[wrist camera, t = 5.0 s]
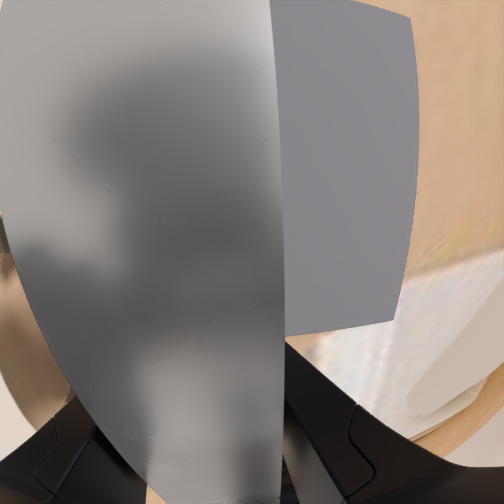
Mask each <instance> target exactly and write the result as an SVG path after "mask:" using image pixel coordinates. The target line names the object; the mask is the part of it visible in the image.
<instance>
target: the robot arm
mask: <svg viewBox="0 0 504 504" xmlns="http://www.w3.org/2000/svg"><path fill="white" fill-rule="evenodd" d="M356 404H357V403H356V402H355V401H354V400H353V399H352V398H351V397H349V396H348V395H347V394H346V393H345V392H343V391H342V390H341V389H340V388H339V387H337V386H336V385H335V384H334V383H333V382H332V381H330V380H329V379H328V378H327V377H326V376H325V375H323V374H322V373H321V372H320V371H319V370H318V369H316V368H315V367H314V366H313V365H312V364H311V363H310V362H308V361H307V360H306V359H305V358H304V357H303V356H302V355H300V354H299V353H298V352H297V351H296V350H295V349H294V348H292V347H291V346H290V345H289V344H288V343H287V342H286V341H285V370H284V418H283V448H282V471H281V490H280V504H504V466H503V467H467V466H462V465H458V464H454V463H452V462H449V461H447V460H445V459H443V458H441V457H439V456H437V455H435V454H433V453H432V452H430V451H428V450H426V449H424V448H423V447H421V446H419V445H417V444H416V443H414V442H412V441H410V440H409V439H407V438H405V437H403V436H402V435H400V434H399V433H397V432H396V431H394V430H392V429H391V428H389V427H388V426H386V425H385V424H383V423H382V422H381V421H379V420H378V419H377V418H375V417H374V416H373V415H371V414H370V413H369V412H368V411H366V410H365V409H364V408H363V407H362V406H360V405H359V404H358V405H356ZM146 490H147V483H146V482H145V481H144V480H143V479H142V478H141V477H140V476H139V475H138V474H137V473H136V472H135V471H134V469H133V468H132V467H131V466H130V465H129V464H128V463H127V462H126V461H125V459H124V458H123V457H122V456H121V455H120V453H119V452H118V451H117V450H116V449H115V447H114V446H113V445H112V444H111V443H110V441H109V440H108V439H107V437H106V436H105V435H104V434H103V432H102V431H101V430H100V428H99V427H98V426H97V424H96V423H95V421H94V420H93V419H92V417H91V416H90V414H89V413H88V411H87V410H86V409H85V407H84V406H83V404H82V403H81V401H80V400H79V398H78V396H77V395H76V396H74V397H73V398H72V399H71V400H70V401H69V402H68V403H67V404H66V405H65V406H64V407H63V408H62V409H61V410H60V411H59V412H57V413H56V414H55V415H54V418H51V419H50V420H49V421H48V422H47V423H46V424H45V425H44V426H43V427H42V428H40V429H39V430H38V431H37V432H36V433H35V434H34V435H33V436H32V437H30V438H29V439H28V440H27V441H26V442H24V443H23V444H22V445H21V446H19V447H18V448H17V449H16V450H14V451H13V452H12V453H10V454H9V455H8V456H7V457H5V458H4V459H3V460H1V461H0V504H145V503H146Z"/></svg>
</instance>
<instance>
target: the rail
mask: <svg viewBox="0 0 504 504" xmlns="http://www.w3.org/2000/svg"><path fill="white" fill-rule="evenodd" d="M0 210H1V215H2V219H3V224H4V228H5V232H6V236H7V239H8V243H9V247H10V250H11V253H12V257H13V260H14V263H15V266H16V269H17V272H18V275H19V278H20V281H21V284H22V286H23V289H24V292H25V294H26V297H27V299H28V302H29V304H30V307H31V309H32V311H33V314H34V316H35V318H36V321H37V323H38V325H39V327H40V329H41V332H42V334H43V336H44V338H45V340H46V342H47V344H48V346H49V348H50V350H51V352H52V354H53V356H54V357H55V359H56V361H57V363H58V365H59V367H60V368H61V370H62V372H63V374H64V375H65V377H66V379H67V380H68V382H69V384H70V385H71V387H72V389H73V390H74V392H75V393H76V395H77V396H78V398H79V400H80V401H81V403H82V404H83V406H84V407H85V409H86V410H87V411H88V413H89V414H90V416H91V417H92V419H93V420H94V421H95V423H96V424H97V426H98V427H99V428H100V430H101V431H102V432H103V434H104V435H105V436H106V437H107V439H108V440H109V441H110V443H111V444H112V445H113V446H114V447H115V449H116V450H117V451H118V452H119V453H120V455H121V456H122V457H123V458H124V459H125V461H126V462H127V463H128V464H129V465H130V466H131V467H132V468H133V469H134V471H135V472H136V473H137V474H138V475H139V476H140V477H141V478H142V479H143V480H144V481H145V482H146V483H147V484H148V485H149V486H150V487H151V488H152V489H153V490H154V491H155V492H156V493H157V494H158V495H159V496H160V497H161V498H162V499H163V500H164V501H165V502H166V503H167V504H280V490H281V471H282V448H283V418H284V370H285V282H284V231H283V199H282V174H281V152H280V133H279V115H278V100H277V85H276V71H275V58H274V46H273V35H272V24H271V14H270V4H269V0H3V3H2V7H1V12H0Z"/></svg>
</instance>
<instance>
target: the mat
mask: <svg viewBox="0 0 504 504" xmlns="http://www.w3.org/2000/svg"><path fill="white" fill-rule="evenodd" d="M269 4H270V14H271V24H272V35H273V46H274V58H275V71H276V85H277V100H278V115H279V133H280V152H281V174H282V199H283V231H284V282H285V337H286V336H295V335H303V334H311V333H319V332H326V331H333V330H340V329H346V328H352V327H358V326H364V325H370V324H375V323H381V322H386V321H391V320H393V319H394V315H395V311H396V307H397V303H398V299H399V295H400V290H401V286H402V281H403V276H404V271H405V266H406V261H407V255H408V250H409V244H410V237H411V231H412V223H413V216H414V207H415V198H416V187H417V174H418V157H419V95H418V78H417V66H416V56H415V47H414V39H413V32H412V26H411V20H410V18H408V17H406V16H403V15H400V14H397V13H394V12H391V11H388V10H385V9H381V8H378V7H375V6H371V5H367V4H364V3H360V2H356V1H351V0H269Z"/></svg>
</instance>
